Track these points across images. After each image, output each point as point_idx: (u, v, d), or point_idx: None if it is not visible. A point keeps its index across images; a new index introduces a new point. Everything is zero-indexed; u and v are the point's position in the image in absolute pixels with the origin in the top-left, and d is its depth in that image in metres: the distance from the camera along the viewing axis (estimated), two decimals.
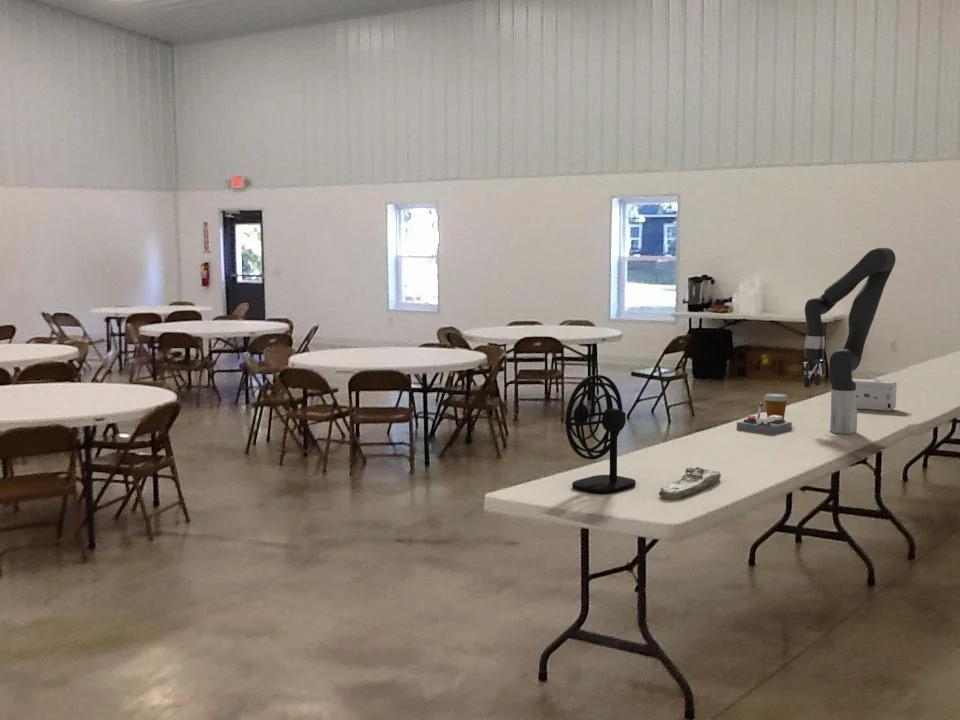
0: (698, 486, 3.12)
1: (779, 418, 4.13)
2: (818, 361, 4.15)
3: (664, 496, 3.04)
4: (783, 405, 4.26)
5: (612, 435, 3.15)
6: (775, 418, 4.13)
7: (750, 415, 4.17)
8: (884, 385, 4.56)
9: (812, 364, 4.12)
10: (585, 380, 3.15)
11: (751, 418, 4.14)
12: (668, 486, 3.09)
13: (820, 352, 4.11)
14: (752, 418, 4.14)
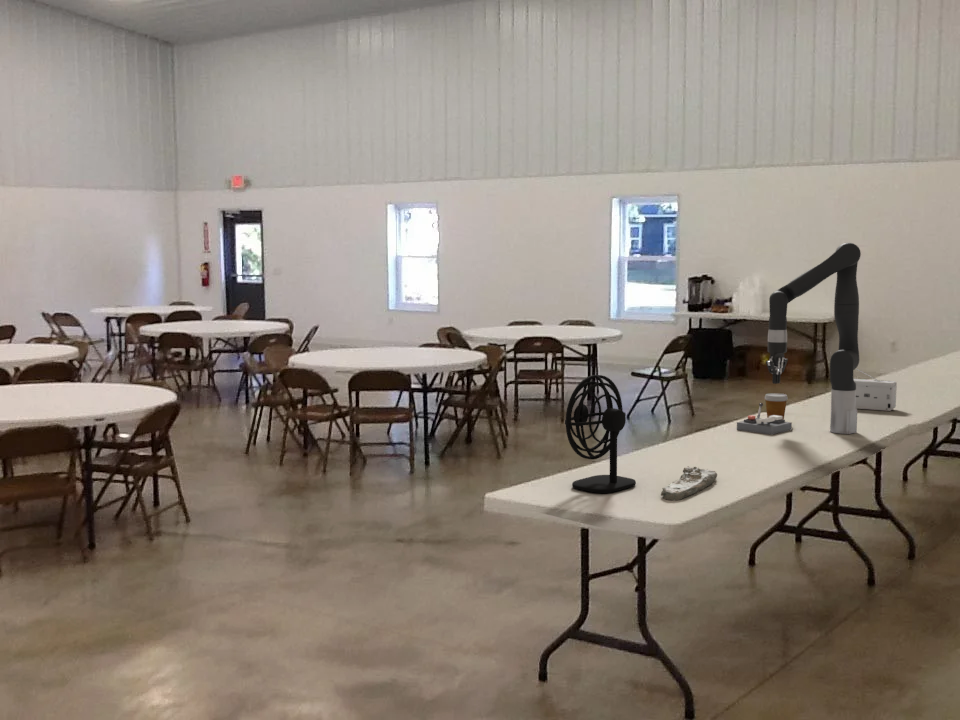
0: (698, 486, 3.12)
1: (779, 418, 4.13)
2: (781, 355, 4.12)
3: (667, 496, 3.03)
4: (783, 405, 4.26)
5: (612, 435, 3.15)
6: (775, 418, 4.13)
7: (750, 415, 4.17)
8: (884, 385, 4.56)
9: (775, 358, 4.09)
10: (585, 380, 3.15)
11: (751, 418, 4.14)
12: (669, 486, 3.09)
13: (782, 346, 4.08)
14: (752, 418, 4.14)
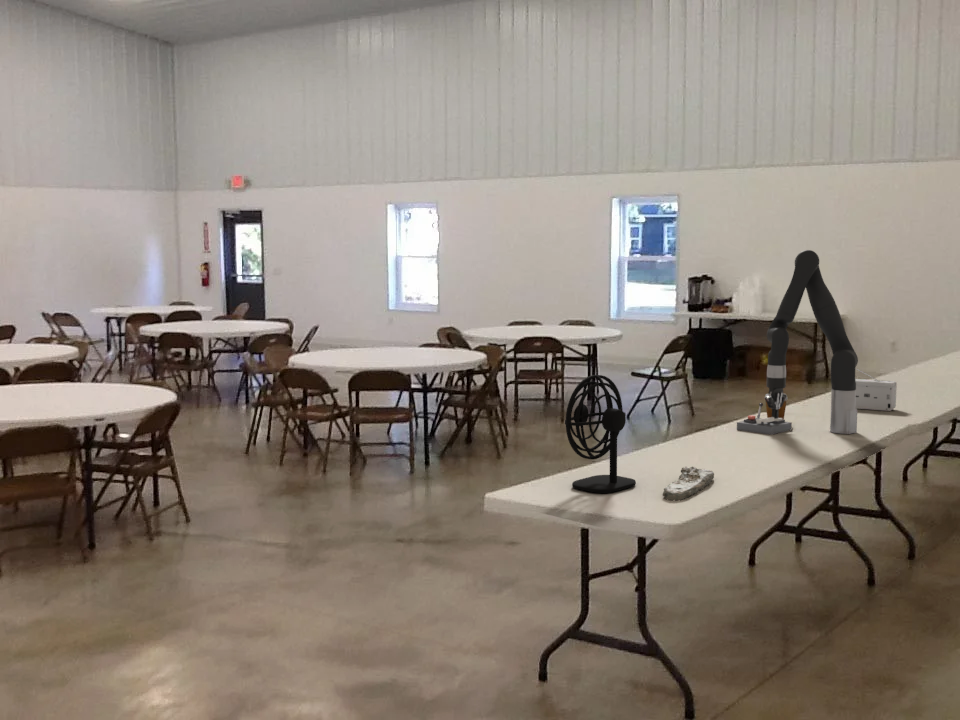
0: (698, 486, 3.12)
1: (779, 420, 4.13)
2: (780, 390, 4.14)
3: (669, 497, 3.03)
4: (783, 405, 4.26)
5: (612, 435, 3.15)
6: (775, 420, 4.13)
7: (750, 415, 4.17)
8: (884, 385, 4.56)
9: (774, 393, 4.11)
10: (585, 380, 3.15)
11: (751, 418, 4.14)
12: (670, 486, 3.09)
13: (781, 381, 4.10)
14: (752, 418, 4.14)
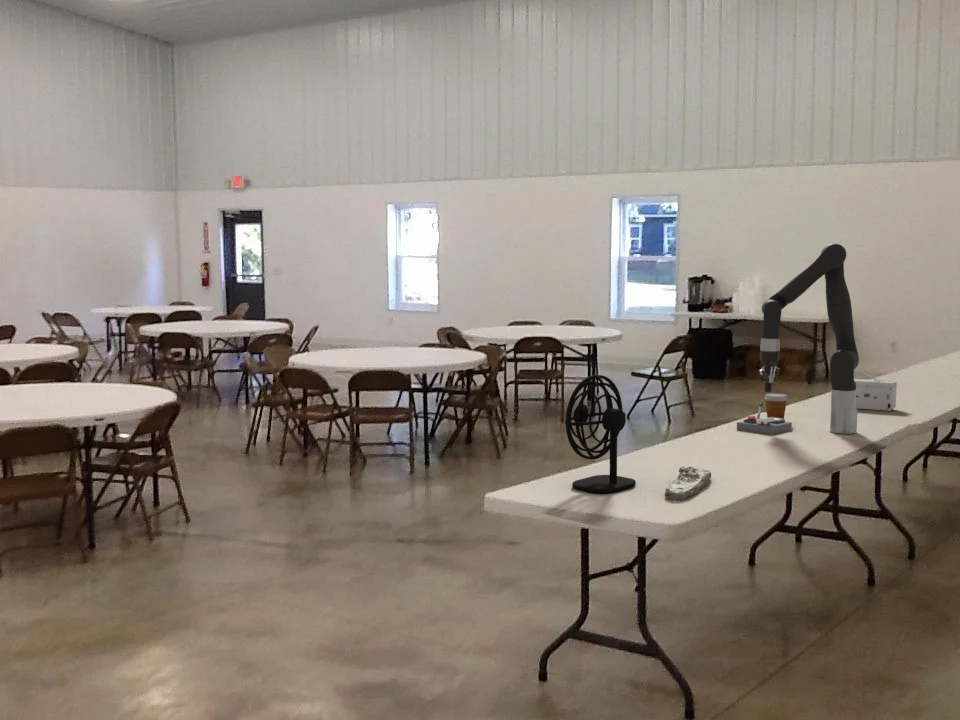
0: (699, 485, 3.13)
1: None
2: (774, 364, 4.13)
3: (671, 497, 3.03)
4: (783, 405, 4.26)
5: (612, 435, 3.15)
6: None
7: (750, 415, 4.17)
8: (884, 385, 4.56)
9: (767, 367, 4.10)
10: (585, 380, 3.15)
11: (751, 418, 4.14)
12: (672, 487, 3.08)
13: (775, 355, 4.09)
14: (752, 418, 4.14)
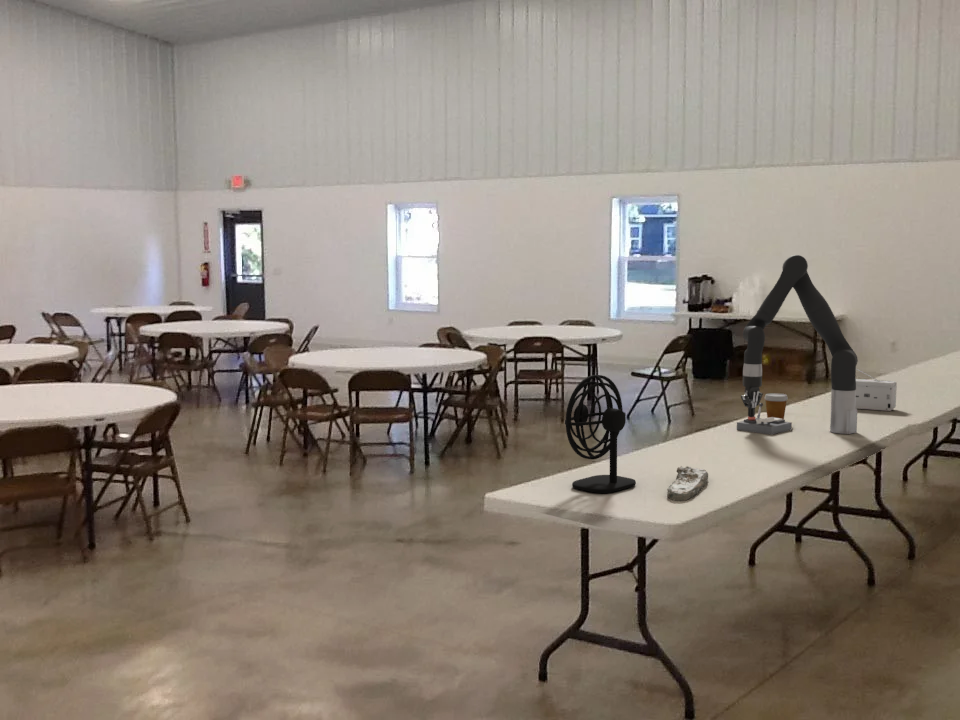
0: (699, 485, 3.13)
1: None
2: (756, 389, 4.15)
3: (674, 497, 3.02)
4: (783, 405, 4.26)
5: (612, 435, 3.15)
6: None
7: None
8: (884, 385, 4.56)
9: (750, 392, 4.12)
10: (585, 380, 3.15)
11: (751, 419, 4.14)
12: (673, 487, 3.08)
13: (757, 380, 4.10)
14: (752, 419, 4.14)
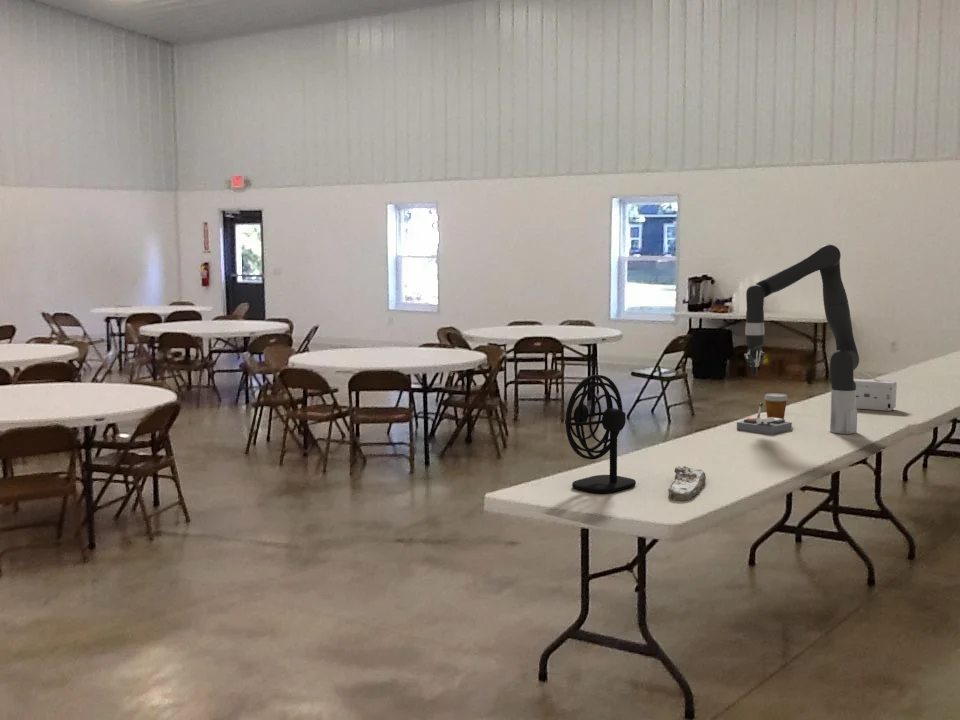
0: (699, 485, 3.13)
1: None
2: (759, 348, 4.17)
3: (676, 497, 3.02)
4: (783, 405, 4.26)
5: (612, 435, 3.15)
6: None
7: (750, 418, 4.17)
8: (884, 385, 4.56)
9: (753, 351, 4.14)
10: (585, 380, 3.15)
11: None
12: (674, 487, 3.08)
13: (760, 338, 4.13)
14: None
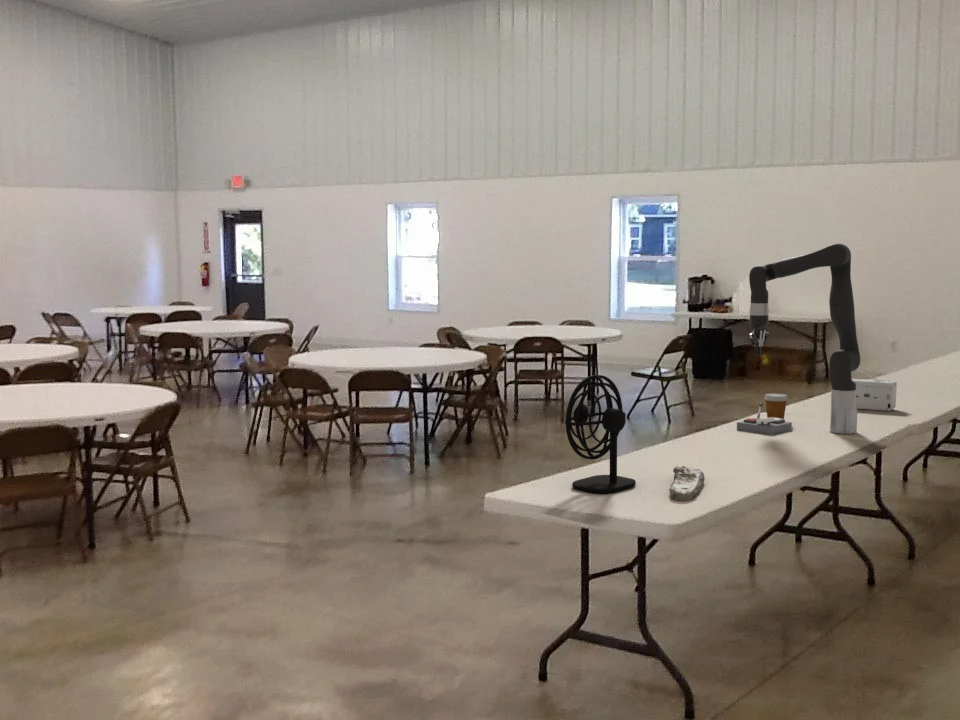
0: (699, 485, 3.13)
1: None
2: (763, 328, 4.24)
3: (678, 497, 3.02)
4: (783, 405, 4.26)
5: (612, 435, 3.15)
6: None
7: (750, 418, 4.17)
8: (884, 385, 4.56)
9: (757, 330, 4.21)
10: (585, 380, 3.15)
11: None
12: (675, 487, 3.08)
13: (764, 319, 4.19)
14: None
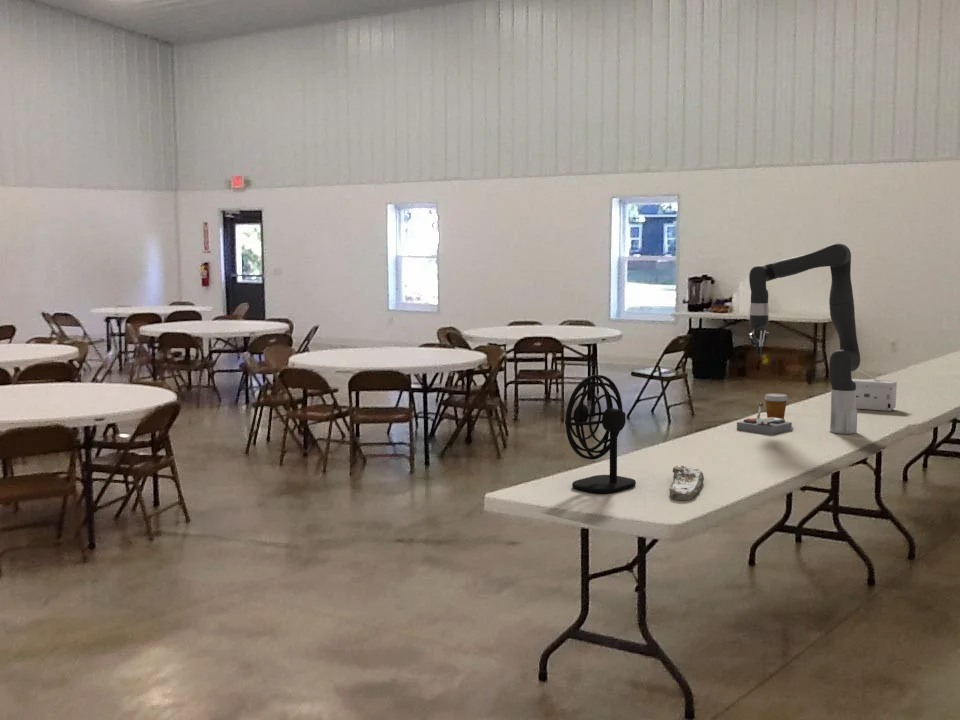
0: (699, 485, 3.13)
1: None
2: (763, 328, 4.24)
3: (679, 497, 3.02)
4: (783, 405, 4.26)
5: (612, 435, 3.15)
6: None
7: (750, 418, 4.17)
8: (884, 385, 4.56)
9: (757, 330, 4.21)
10: (585, 380, 3.15)
11: None
12: (675, 487, 3.08)
13: (764, 319, 4.19)
14: None
